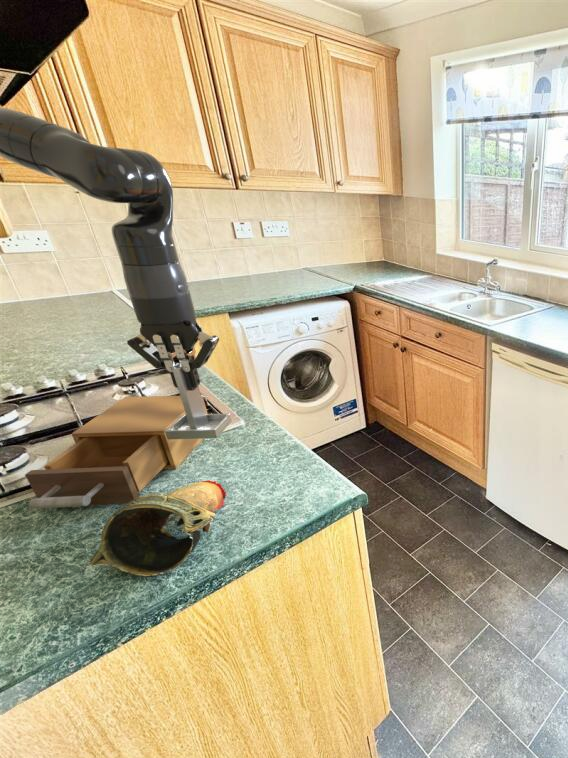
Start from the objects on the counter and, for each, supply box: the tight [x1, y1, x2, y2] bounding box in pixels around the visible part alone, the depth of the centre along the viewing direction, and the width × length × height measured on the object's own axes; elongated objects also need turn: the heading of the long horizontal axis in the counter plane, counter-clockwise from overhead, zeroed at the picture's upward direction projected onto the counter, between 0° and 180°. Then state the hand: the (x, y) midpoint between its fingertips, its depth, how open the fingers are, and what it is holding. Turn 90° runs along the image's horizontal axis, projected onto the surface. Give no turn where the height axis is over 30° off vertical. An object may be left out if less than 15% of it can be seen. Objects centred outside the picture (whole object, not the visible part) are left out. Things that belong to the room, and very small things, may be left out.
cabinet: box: [71, 394, 209, 470], centre depth 84 cm, size 15×15×9 cm
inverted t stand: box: [165, 363, 233, 440], centre depth 75 cm, size 8×6×13 cm
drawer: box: [24, 435, 169, 510], centre depth 72 cm, size 18×13×7 cm
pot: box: [87, 479, 227, 577], centre depth 64 cm, size 17×11×18 cm
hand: (188, 388), depth 74 cm, fingers closed on inverted t stand, 1 cm apart
